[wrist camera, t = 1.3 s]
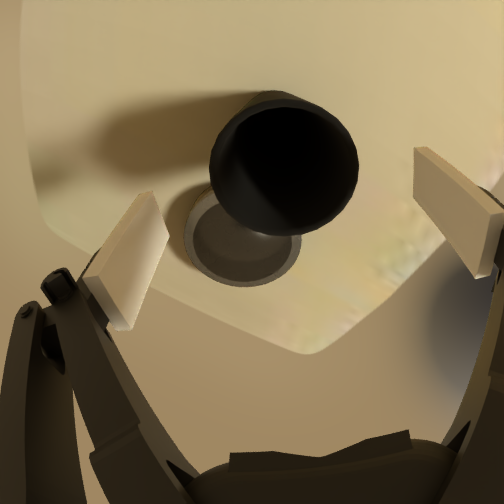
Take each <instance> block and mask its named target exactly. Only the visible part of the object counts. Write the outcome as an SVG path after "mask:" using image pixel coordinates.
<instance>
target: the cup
mask: <svg viewBox="0 0 504 504" xmlns="http://www.w3.org/2000/svg"><path fill="white" fill-rule="evenodd" d="M358 171H359V161H358V155H357V150H356V147H355V144H354V142H353V140H352V138H351V136H350V134H349V132H348V131H347V129H346V128H345V127H344V126H343V125H342V123H341V122H340V121H339V120H338V119H337V118H336V117H334V116H333V115H332V114H330V113H329V112H327V111H326V110H325V109H323V108H322V107H319V106H317V105H315V104H313V103H310V102H308V101H306V100H304V99H301V98H299V97H297V96H294V95H292V94H289V93H286V92H283V91H275V90H274V91H267V92H264V93H261V94H259V95H257V96H256V97H255V98H253V99H252V100H251V101H250V102H249V103H248V104H247V105H246V106H244V107H243V108H242V109H241V110H240V111H239V112H238V113H237V114H236V115H235V116H234V117H233V118H232V119H231V120H230V121H229V122H228V123H227V125H226V126H225V127H224V128H223V130H222V131H221V132H220V133H219V135H218V137H217V139H216V142H215V144H214V146H213V149H212V151H211V157H210V164H209V173H210V181H211V186H212V188H213V191H214V193H215V196H216V198H217V200H218V202H219V203H220V205H221V206H222V207H223V209H224V210H225V211H226V213H227V214H228V215H230V216H231V217H232V218H233V219H234V220H235V221H237V222H238V223H239V224H241V225H243V226H245V227H247V228H248V229H250V230H252V231H255V232H258V233H262V234H265V235H269V236H282V237H287V236H295V235H302V234H305V233H308V232H311V231H314V230H317V229H319V228H320V227H322V226H324V225H325V224H327V223H329V222H330V221H332V220H333V219H334V218H335V217H336V216H337V215H338V214H339V213H340V212H341V211H342V210H343V209H344V208H345V206H346V205H347V203H348V202H349V200H350V199H351V197H352V195H353V192H354V190H355V187H356V184H357V181H358Z"/></svg>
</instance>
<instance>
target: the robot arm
mask: <svg viewBox="0 0 504 504" xmlns="http://www.w3.org/2000/svg"><path fill="white" fill-rule="evenodd" d="M413 198H414V199H415V200H416V201H417V203H418V204H419V205H420V206H421V207H422V209H423V210H424V211H425V212H426V213H427V215H428V216H429V217H430V218H431V220H432V221H433V222H434V223H435V225H436V226H437V227H438V228H439V230H440V231H441V232H442V234H443V235H444V236H445V237H446V239H447V240H448V241H449V243H450V244H451V245H452V247H453V248H454V249H455V251H456V252H457V254H458V255H459V256H460V258H461V259H462V261H463V262H464V263H465V265H466V266H467V268H468V269H469V271H470V272H471V273H472V275H473V276H474V278H475V279H477V278H481V277H485V276H489V275H490V274H491V270H492V267H493V264H494V263H495V264H496V265H497V267H498V268H499V270H498V273H497V276H496V279H495V282H494V285H493V288H492V292H494V293H493V298H492V303H491V307H490V312H489V316H488V320H487V325H486V328H485V332H484V336H483V340H482V343H481V347H480V350H479V354H478V357H477V360H476V363H475V366H474V369H473V372H472V375H471V378H470V381H469V384H468V387H467V389H466V392H465V395H464V397H463V400H462V402H461V405H460V407H459V410H458V412H457V415H456V417H455V419H454V422H453V424H452V426H451V428H450V429H449V431H448V433H447V434H446V436H445V438H444V439H443V441H442V443H441V444H439V443H436V442H432V441H428V440H420V439H410V434H409V430H404V431H400V432H396V433H392V434H388V435H383V436H379V437H374V438H370V439H365V440H363V441H361V442H359V443H356V444H354V445H352V446H349V447H347V448H344V449H342V450H339V451H337V452H335V453H332V454H329V455H327V456H323V457H311V456H302V455H295V454H288V453H281V452H275V451H268V452H243V453H230V459H229V463H225V464H222V465H219V466H216V467H214V468H212V469H209V470H208V471H205V472H204V473H202V474H199V473H198V472H197V470H196V469H194V467H193V466H192V465H191V464H190V463H189V462H188V461H187V460H186V459H185V457H184V456H183V455H182V453H181V452H180V451H179V449H178V448H177V446H176V445H175V443H174V442H173V440H172V439H171V438H170V436H169V435H168V433H167V432H166V430H165V429H164V427H163V426H162V424H161V423H160V421H159V419H158V418H157V416H156V415H155V413H154V412H153V410H152V408H151V407H150V405H149V404H148V402H147V400H146V399H145V397H144V395H143V394H142V392H141V390H140V388H139V387H138V385H137V383H136V382H135V380H134V378H133V376H132V375H131V373H130V371H129V369H128V367H127V365H126V364H125V362H124V360H123V358H122V356H121V354H120V352H119V351H118V348H117V346H116V345H115V343H114V341H113V339H112V337H111V335H110V333H109V332H108V330H107V329H106V327H107V324H108V322H109V321H110V323H111V324H112V325H113V327H114V328H115V330H116V331H123V330H132V329H133V326H134V323H135V320H136V318H137V315H138V312H139V310H140V307H141V305H142V302H143V300H144V297H145V294H146V292H147V289H148V287H149V284H150V282H151V279H152V277H153V275H154V272H155V270H156V267H157V265H158V262H159V260H160V258H161V255H162V253H163V251H164V248H165V246H166V244H167V241H168V239H169V237H170V236H169V233H168V231H167V228H166V226H165V223H164V220H163V218H162V215H161V213H160V210H159V207H158V205H157V202H156V200H155V197H154V194H153V192H152V191H150V192H146V193H142V194H139V195H138V197H137V198H136V199H135V201H134V202H133V203H132V205H131V206H130V207H129V209H128V210H127V211H126V213H125V214H124V216H123V217H122V218H121V220H120V221H119V223H118V224H117V225H116V227H115V228H114V230H113V231H112V233H111V234H110V236H109V237H108V239H107V240H106V241H105V243H104V244H103V246H102V247H101V248H100V249H99V250H98V251H97V252H96V253H95V254H94V255H93V257H92V258H91V260H90V263H88V265H87V266H86V269H84V271H83V272H82V274H81V275H80V277H79V279H78V280H77V282H75V280H74V279H73V277H72V276H71V274H70V272H69V270H68V269H67V268H60V269H57V270H55V271H53V272H52V273H51V274H49V275H48V276H47V277H46V278H45V279H44V280H43V282H42V284H41V290H42V291H43V293H44V294H45V295H46V297H47V298H48V300H49V301H50V303H51V304H52V305H51V306H49V307H46V308H44V309H42V308H41V306H40V305H39V304H38V302H37V301H31V302H28V303H27V304H25V305H23V307H21V308H20V310H19V311H18V313H17V314H16V317H15V320H14V324H13V329H12V333H11V337H10V342H9V346H8V351H7V356H6V361H5V367H4V373H3V379H2V386H1V394H0V504H87V500H86V496H85V490H84V485H83V480H82V474H81V468H80V462H79V455H78V447H77V439H76V430H75V419H74V406H73V390H74V394H75V397H76V399H77V403H78V405H79V408H80V411H81V414H82V417H83V419H84V422H85V425H86V427H87V430H88V432H89V435H90V437H91V439H92V442H93V444H94V448H95V451H93V452H91V453H90V456H89V459H90V462H91V465H92V467H93V470H94V472H95V474H96V476H97V479H98V481H99V483H100V485H101V487H102V489H103V491H104V494H105V496H106V498H107V499H108V501H109V503H110V504H504V205H503V204H502V203H500V201H499V200H498V199H497V198H494V196H493V195H492V194H491V193H490V192H489V191H487V190H485V189H483V188H481V187H479V186H477V185H475V184H474V183H473V182H472V181H471V180H469V179H468V178H467V177H466V176H465V175H463V174H462V173H461V172H460V171H458V170H457V169H456V168H455V167H453V166H452V165H451V164H449V163H448V162H447V161H445V160H444V159H443V158H441V157H440V156H439V155H437V154H436V153H435V152H433V151H432V150H431V149H429V148H428V147H417V148H414V184H413Z"/></svg>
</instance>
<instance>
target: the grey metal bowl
mask: <svg viewBox="0 0 504 504" xmlns="http://www.w3.org/2000/svg"><path fill="white" fill-rule="evenodd" d="M301 241H302V240H301V235H295V236H287V237H282V236H269V235H265V234H262V233H258V232H255V231H252V230H250V229H248V228H247V227H245V226H243V225H241V224H239V223H238V222H237V221H235V220H234V219H233V218H232V217H231V216H230V215H228V214H227V213H226V211H225V210H224V209H223V207H222V206H221V205H220V203H219V202H218V200H217V198H216V196H215V193H214V191H213V188H212V186H211V187H209V188H208V189H207V190H205V191H204V192H203V193H202V194H201V195H200V196H199V197H198V199H197V200H196V201H195V203H194V205H193V207H192V209H191V212H190V214H189V217H188V220H187V222H186V226H185V230H184V243H185V248H186V251H187V253H188V256H189V258H190V259H191V261H192V262H193V264H194V265H195V266H196V267H197V268H198V269H199V270H200V271H201V272H202V273H203V274H205V275H206V276H208V277H209V278H211V279H213V280H215V281H217V282H220V283H223V284H226V285H230V286H236V287H253V286H259V285H263V284H266V283H269V282H272V281H274V280H276V279H277V278H279V277H281V276H282V275H283V274H285V273H286V272H287V271H288V270H289V269H290V268H291V267H292V265H293V264H294V263H295V261H296V259H297V257H298V255H299V252H300V249H301Z"/></svg>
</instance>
